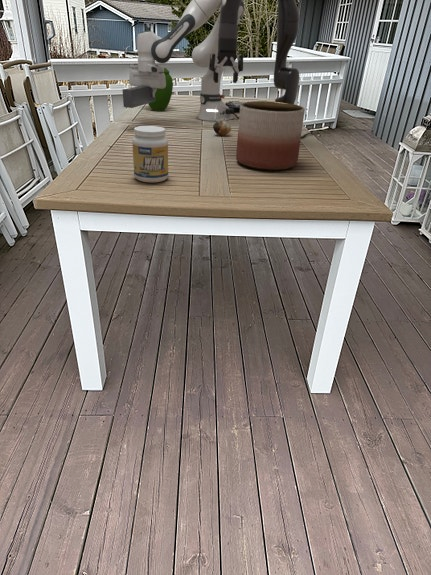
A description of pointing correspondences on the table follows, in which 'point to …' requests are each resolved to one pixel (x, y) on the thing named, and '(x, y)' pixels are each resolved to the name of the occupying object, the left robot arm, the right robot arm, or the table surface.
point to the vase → (163, 94)
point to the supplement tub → (150, 154)
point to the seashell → (222, 127)
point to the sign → (234, 105)
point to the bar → (137, 96)
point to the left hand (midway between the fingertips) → (147, 96)
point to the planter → (269, 134)
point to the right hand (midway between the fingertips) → (225, 82)
